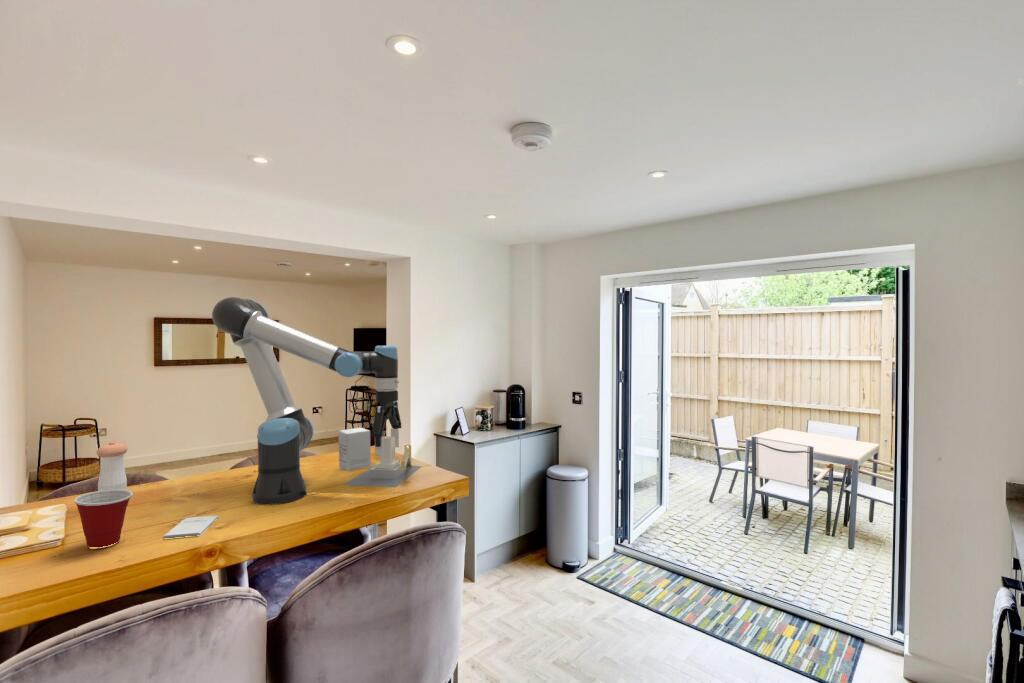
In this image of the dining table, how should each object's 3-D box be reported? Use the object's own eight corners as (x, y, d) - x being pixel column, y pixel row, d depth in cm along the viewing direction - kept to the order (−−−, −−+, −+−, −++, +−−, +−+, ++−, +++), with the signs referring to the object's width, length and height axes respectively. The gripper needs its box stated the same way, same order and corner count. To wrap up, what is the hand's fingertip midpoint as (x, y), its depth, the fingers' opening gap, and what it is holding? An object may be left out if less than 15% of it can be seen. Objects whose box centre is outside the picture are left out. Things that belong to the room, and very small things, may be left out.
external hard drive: (162, 542, 120) (184, 523, 132) (200, 539, 122) (218, 520, 134) (162, 535, 120) (184, 517, 132) (200, 532, 122) (218, 514, 134)
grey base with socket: (342, 489, 159) (342, 476, 159) (376, 468, 184) (375, 456, 184) (395, 492, 156) (395, 477, 156) (422, 470, 182) (422, 458, 182)
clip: (399, 484, 157) (399, 461, 157) (404, 464, 182) (404, 445, 182) (406, 484, 158) (406, 461, 158) (411, 464, 183) (411, 444, 183)
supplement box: (361, 465, 189) (361, 427, 189) (371, 470, 182) (371, 430, 182) (338, 470, 183) (337, 429, 183) (347, 475, 176) (346, 433, 176)
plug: (375, 477, 167) (374, 439, 167) (382, 472, 174) (382, 435, 174) (392, 478, 166) (392, 439, 166) (399, 472, 173) (399, 435, 173)
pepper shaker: (116, 510, 141) (115, 443, 141) (90, 511, 141) (89, 444, 141) (134, 501, 148) (133, 438, 148) (109, 502, 148) (108, 439, 148)
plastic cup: (112, 553, 112) (111, 501, 112) (61, 555, 111) (61, 503, 111) (144, 534, 123) (143, 487, 123) (98, 536, 122) (97, 488, 122)
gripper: (382, 394, 157) (383, 460, 157) (409, 386, 182) (410, 443, 182) (360, 394, 158) (360, 459, 158) (390, 386, 183) (391, 443, 183)
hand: (387, 451), depth 170 cm, fingers open, 13 cm apart
